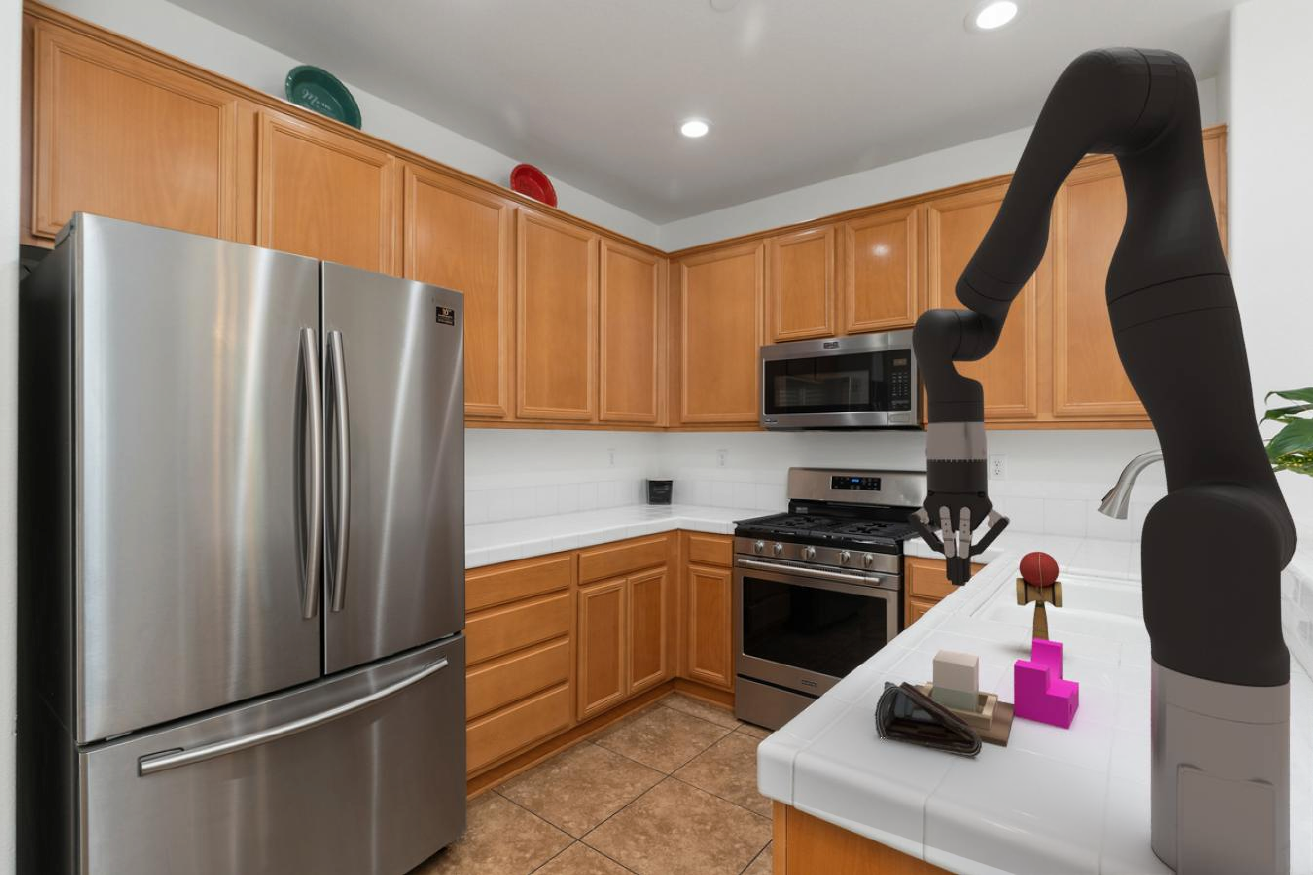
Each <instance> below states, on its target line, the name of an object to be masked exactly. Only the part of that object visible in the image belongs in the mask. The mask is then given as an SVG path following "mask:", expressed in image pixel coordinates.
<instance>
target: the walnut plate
mask: <svg viewBox="0 0 1313 875" xmlns="http://www.w3.org/2000/svg"><path fill="white" fill-rule="evenodd" d="M914 686H917V687H918V688H919V690H920V691H921V692H922V693H923V694H924V695H926V696H928V697H930V698H931V699H933V681H926V684H924V685H920V684H915V685H914ZM998 697H999V696H998V694H996V693H990V692H985V691H980V690H979V708H978V711H977V713H975V712H970V711H965V710H960V709H956V708H951V707H946V706H945V707H946V708H947V709H949V710H950V711H951V712H953V713H955V714H956V715H957V716H959V717H960V718H962V719H963V720H964V721H965V722H967V724H968V725H969V727H970V728H971V729H972V730H974V731H975V732H976V733H977V734H978V735H979V737H980V739H981V741H982V743H983V742H984V743H987V744H992V745H996V746H1000V747H1004V748H1007V746H1008V743H1009V738H1010V735H1011V730H1012V726H1013V721H1014V719H1015V716H1014V703H1011V702H1007V701H1001V700H998V699H999V698H998Z"/></svg>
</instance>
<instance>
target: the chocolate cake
mask: <svg viewBox="0 0 1313 875" xmlns="http://www.w3.org/2000/svg"><path fill="white" fill-rule="evenodd" d="M883 687H884V691H883V692H882V694H881V695H880V698H879V699H878V702H877V703H876V704H877V705H876V709H875V713H874V720H875V721H874V722H875V730H876V733H877V735H878V737H879V739H880V738H881V737H882V739H885V738H884V737H888V738H887V739H891V738H892V739H891V740H896V741H899V742H904V743H907V744H911V745H914V746H915V745H916V746H920V747H923V748H926V749H930V750H935V751H937V752H942V753H946V754H950V755H954V756H957V757H964V758H974V757H978V756H979V755H980V754H981V750H982V749H983V742H982V741H981V739H980V737H979V735H978V734H977V733H976V732H975V731H974V730H972V729H971V728H970V727H969V725H968V724H967V722H965V721H964V720H963V719H962V718H960V717H959V716H957V715H956V714H955V713H953V712H951V711H950V710H949V709H947V708H946V707H945V705H944V704H943V703H942V702H940V701H938V702H935V701H934V700H933V699H931V698H930V697H928V696H926V695H924V694H923V693H922V692H921V691H920V690H919V688H918V687H917V686H915V685H913V684H911V683H908V682H906V681H902V682H901V684H900V685H899V686H898V685H896V684H895V683H893V682H891V681H885V682H884V686H883Z"/></svg>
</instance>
